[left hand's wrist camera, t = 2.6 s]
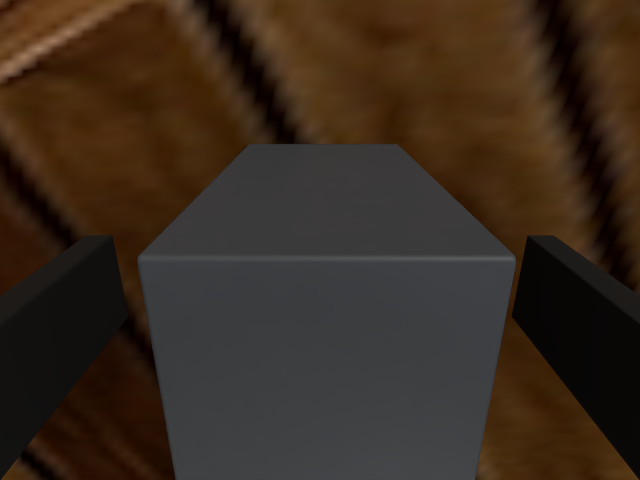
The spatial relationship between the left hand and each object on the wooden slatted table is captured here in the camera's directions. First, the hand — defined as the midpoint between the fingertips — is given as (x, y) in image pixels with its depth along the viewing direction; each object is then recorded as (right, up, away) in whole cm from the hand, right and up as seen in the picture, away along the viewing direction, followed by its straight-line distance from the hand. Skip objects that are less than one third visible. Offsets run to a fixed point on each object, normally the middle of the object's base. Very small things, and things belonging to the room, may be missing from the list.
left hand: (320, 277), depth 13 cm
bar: (0, -6, +5) cm, 8 cm away
